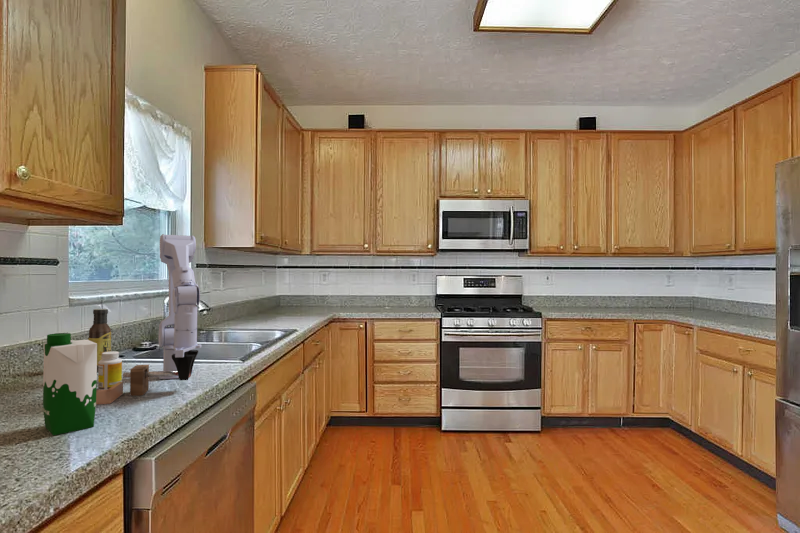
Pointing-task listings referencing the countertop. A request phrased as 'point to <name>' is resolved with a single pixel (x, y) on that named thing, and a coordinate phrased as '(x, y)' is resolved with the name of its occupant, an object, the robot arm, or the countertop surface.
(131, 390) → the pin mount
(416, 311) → the countertop surface
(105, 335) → the sauce bottle
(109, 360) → the supplement bottle
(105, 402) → the dock
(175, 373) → the lock pin
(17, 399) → the countertop surface
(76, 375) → the milk carton
